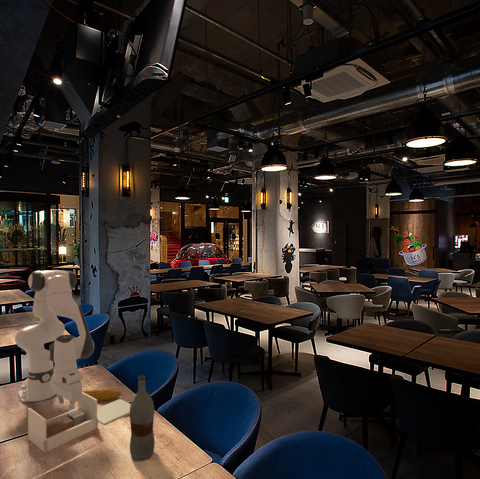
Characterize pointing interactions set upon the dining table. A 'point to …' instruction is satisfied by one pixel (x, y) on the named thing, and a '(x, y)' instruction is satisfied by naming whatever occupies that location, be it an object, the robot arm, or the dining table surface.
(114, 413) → the board
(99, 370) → the dining table surface
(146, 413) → the bottle
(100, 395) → the food
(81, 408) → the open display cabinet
